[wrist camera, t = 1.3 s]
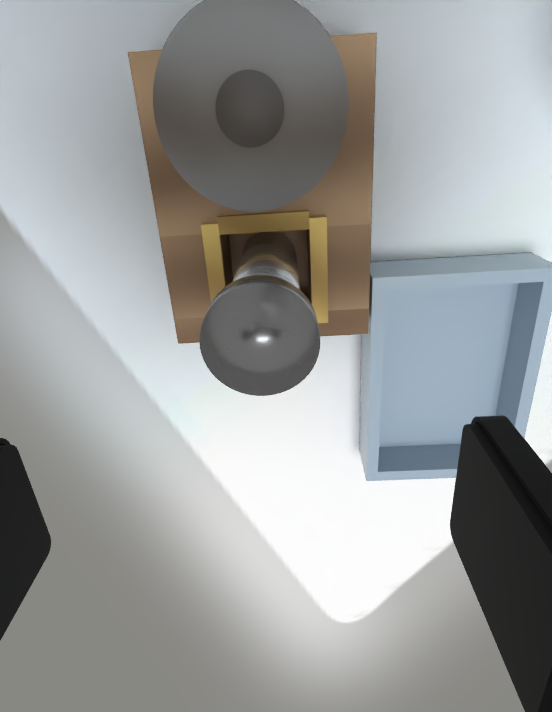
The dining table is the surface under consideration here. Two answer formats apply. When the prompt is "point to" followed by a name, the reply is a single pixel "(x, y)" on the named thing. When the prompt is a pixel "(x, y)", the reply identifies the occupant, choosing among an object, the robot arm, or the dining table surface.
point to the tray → (447, 356)
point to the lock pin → (262, 322)
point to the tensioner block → (261, 153)
